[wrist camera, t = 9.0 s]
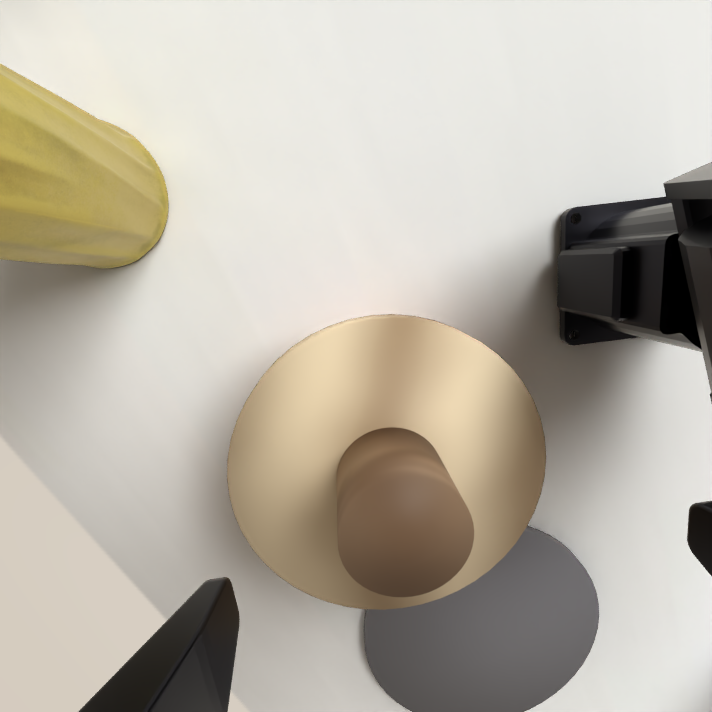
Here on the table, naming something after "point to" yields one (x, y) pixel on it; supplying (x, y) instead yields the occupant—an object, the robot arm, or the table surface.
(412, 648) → the mat
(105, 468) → the table surface
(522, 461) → the lid
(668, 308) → the robot arm
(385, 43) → the table surface
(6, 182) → the vase
